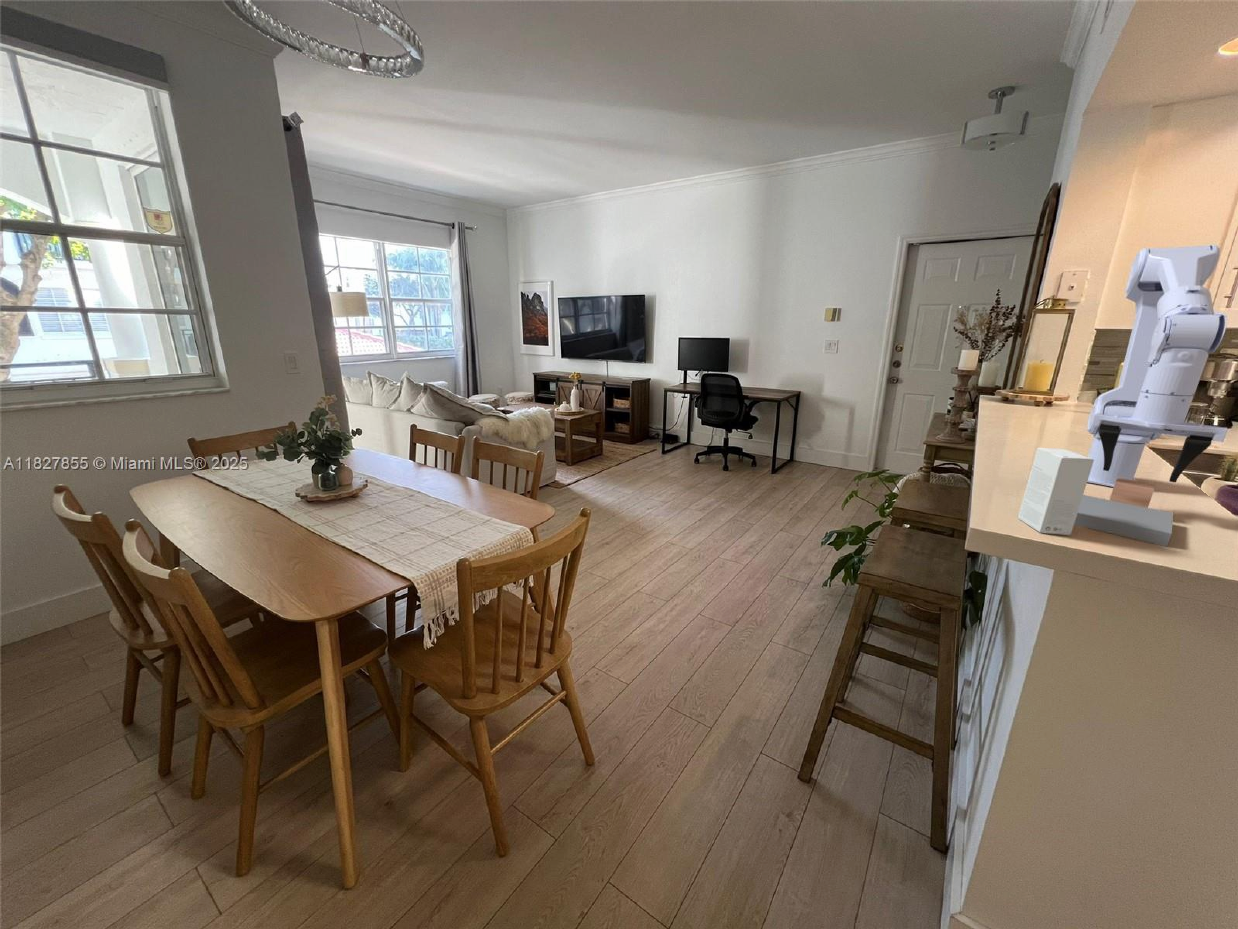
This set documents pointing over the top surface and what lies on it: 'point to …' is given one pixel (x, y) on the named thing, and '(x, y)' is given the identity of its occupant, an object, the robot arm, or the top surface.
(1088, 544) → the top surface
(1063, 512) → the skincare box
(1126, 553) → the top surface
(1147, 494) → the terracotta cube
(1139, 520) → the slate base board
